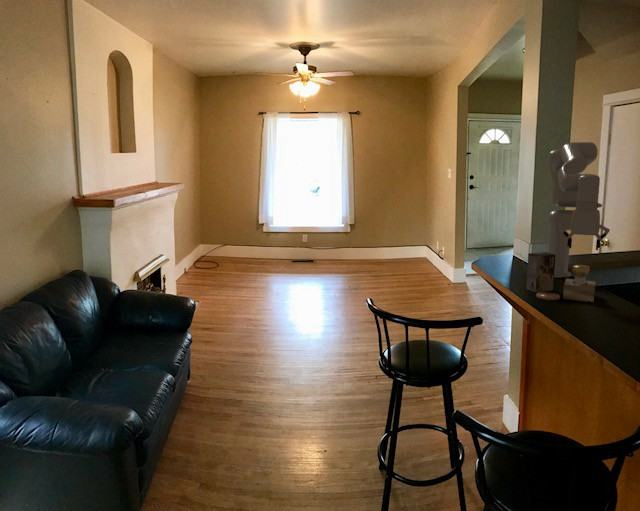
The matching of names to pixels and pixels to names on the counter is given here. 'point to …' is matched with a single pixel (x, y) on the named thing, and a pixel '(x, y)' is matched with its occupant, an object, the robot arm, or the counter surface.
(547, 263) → the coffee box
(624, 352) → the counter surface
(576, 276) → the pin
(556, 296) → the coaster
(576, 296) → the eye block
